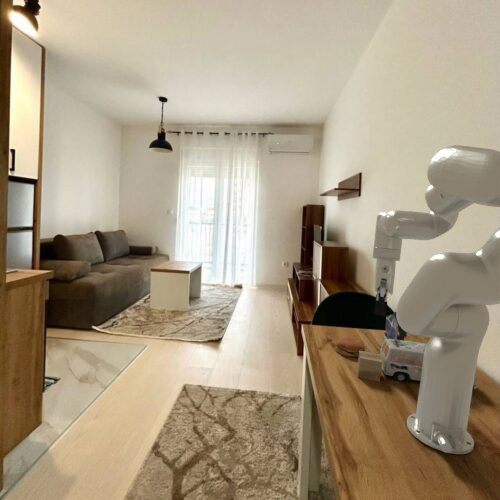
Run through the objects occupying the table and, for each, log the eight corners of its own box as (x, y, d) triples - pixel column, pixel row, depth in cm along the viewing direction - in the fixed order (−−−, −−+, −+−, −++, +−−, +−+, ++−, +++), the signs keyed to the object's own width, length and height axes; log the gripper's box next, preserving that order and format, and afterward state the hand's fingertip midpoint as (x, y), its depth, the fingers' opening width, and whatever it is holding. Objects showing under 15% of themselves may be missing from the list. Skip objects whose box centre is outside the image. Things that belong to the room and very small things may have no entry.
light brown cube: (379, 381, 94) (382, 362, 93) (357, 377, 95) (360, 357, 95) (377, 373, 99) (379, 354, 99) (357, 369, 101) (359, 350, 100)
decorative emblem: (403, 359, 112) (408, 316, 110) (396, 358, 112) (401, 316, 110) (389, 346, 123) (393, 307, 122) (382, 345, 123) (387, 307, 122)
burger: (330, 351, 114) (332, 338, 113) (342, 345, 121) (344, 333, 120) (357, 361, 107) (359, 347, 107) (368, 354, 114) (370, 341, 114)
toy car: (477, 396, 90) (482, 361, 89) (383, 380, 95) (387, 347, 94) (460, 378, 100) (465, 347, 100) (376, 365, 105) (380, 335, 105)
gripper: (401, 257, 87) (394, 320, 88) (399, 254, 103) (392, 307, 104) (372, 254, 89) (365, 315, 91) (373, 251, 105) (368, 303, 107)
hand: (379, 310), depth 97 cm, fingers open, 9 cm apart
